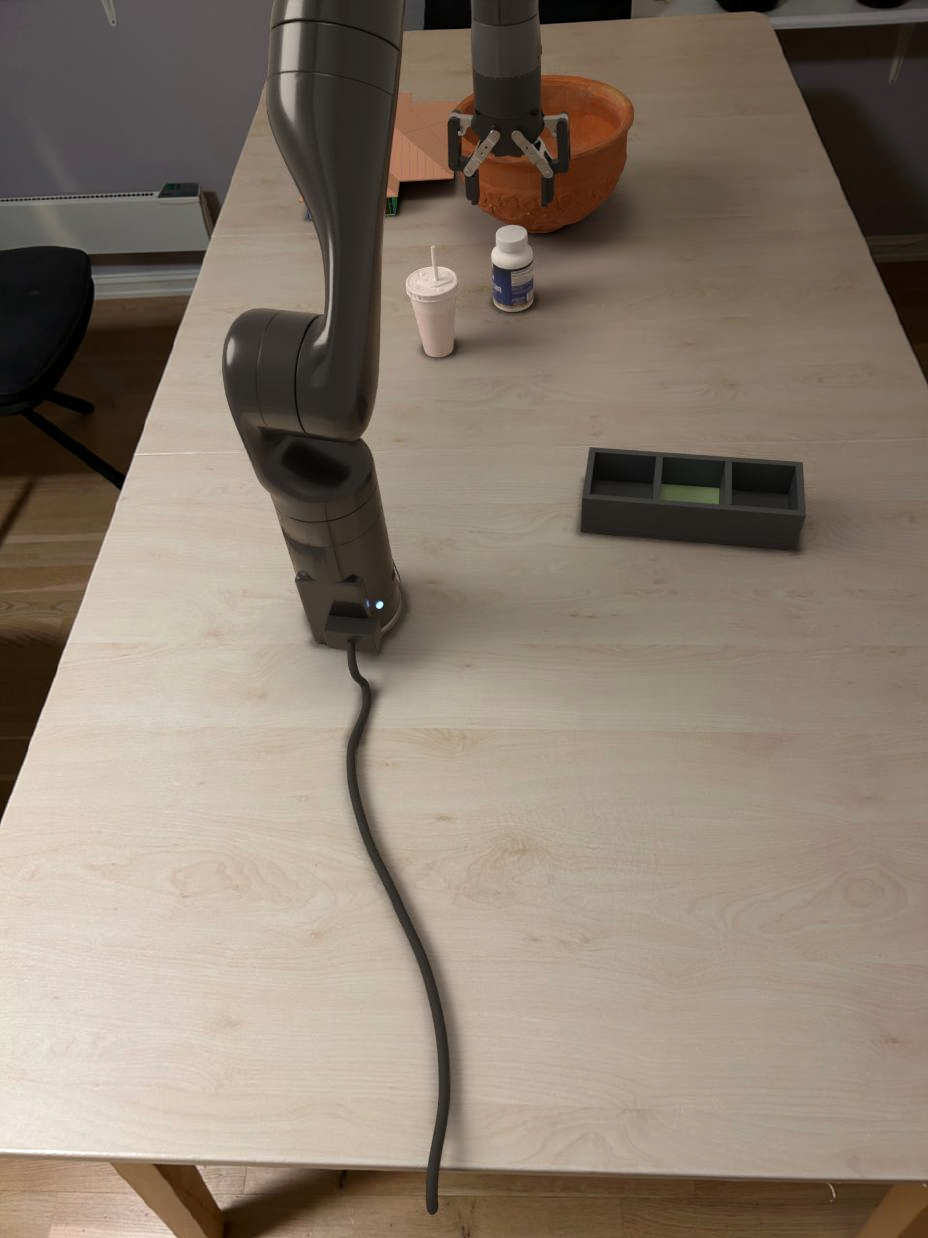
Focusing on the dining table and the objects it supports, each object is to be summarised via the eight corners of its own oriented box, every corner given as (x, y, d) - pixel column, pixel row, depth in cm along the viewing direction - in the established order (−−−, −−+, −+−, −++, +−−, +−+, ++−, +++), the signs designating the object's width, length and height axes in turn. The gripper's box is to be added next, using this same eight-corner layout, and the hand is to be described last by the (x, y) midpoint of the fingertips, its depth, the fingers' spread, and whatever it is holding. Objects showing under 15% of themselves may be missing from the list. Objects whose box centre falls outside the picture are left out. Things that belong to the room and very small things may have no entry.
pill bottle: (486, 297, 125) (482, 228, 118) (522, 285, 127) (520, 217, 119) (504, 317, 122) (501, 248, 115) (540, 305, 123) (540, 236, 116)
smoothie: (458, 365, 117) (449, 263, 106) (408, 362, 118) (394, 260, 107) (468, 334, 120) (460, 233, 110) (420, 331, 122) (408, 230, 111)
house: (459, 113, 159) (455, 61, 153) (454, 214, 139) (450, 159, 133) (327, 121, 161) (318, 70, 155) (302, 222, 141) (291, 168, 134)
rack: (795, 550, 94) (806, 515, 90) (580, 532, 98) (582, 498, 94) (792, 496, 99) (802, 461, 95) (587, 481, 103) (589, 446, 99)
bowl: (658, 236, 132) (669, 127, 120) (495, 283, 127) (490, 174, 115) (580, 162, 146) (583, 58, 135) (432, 201, 142) (422, 98, 130)
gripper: (435, 73, 100) (447, 217, 113) (568, 74, 98) (565, 221, 110) (448, 44, 104) (458, 186, 117) (575, 44, 102) (572, 188, 115)
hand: (510, 203), depth 114 cm, fingers open, 8 cm apart
